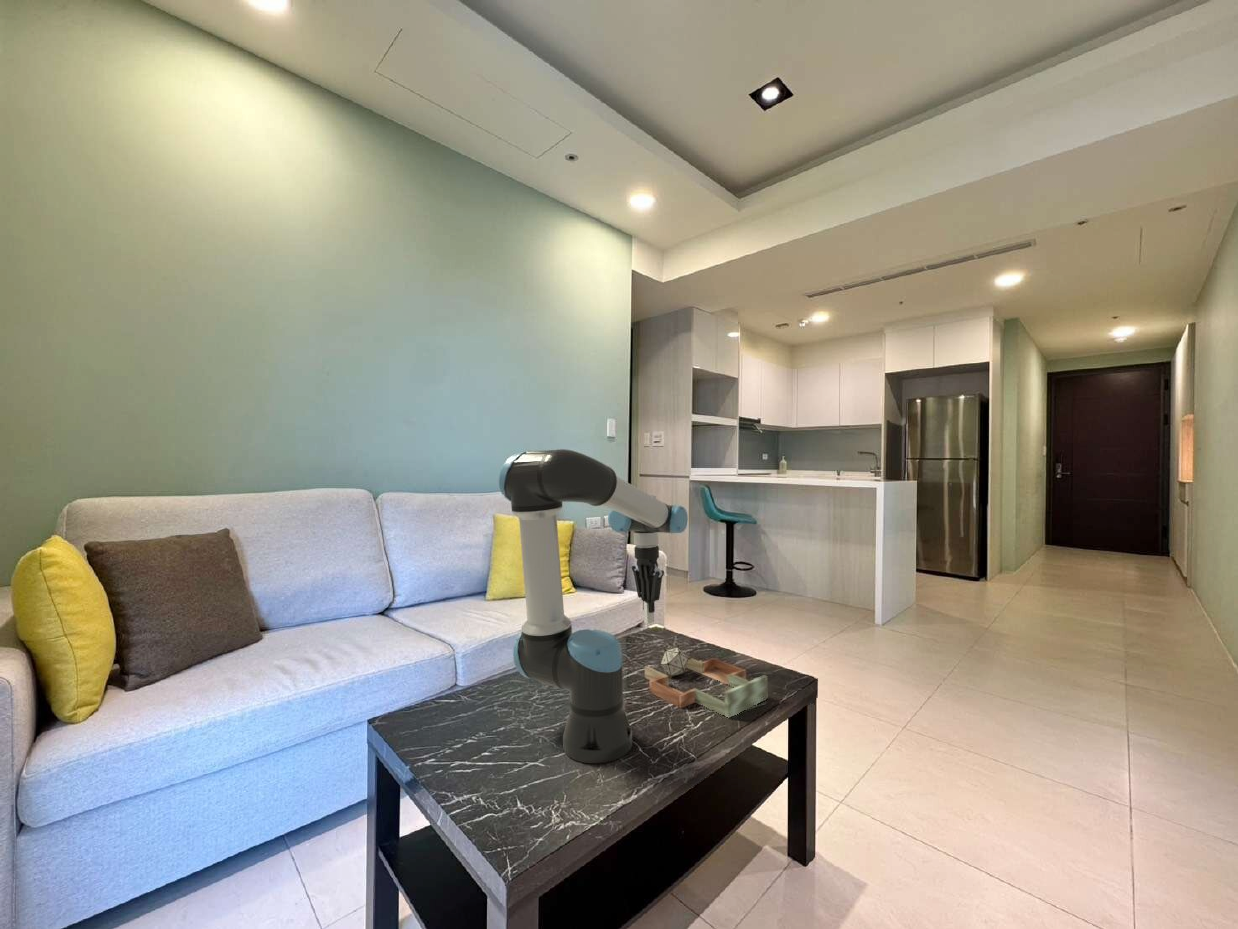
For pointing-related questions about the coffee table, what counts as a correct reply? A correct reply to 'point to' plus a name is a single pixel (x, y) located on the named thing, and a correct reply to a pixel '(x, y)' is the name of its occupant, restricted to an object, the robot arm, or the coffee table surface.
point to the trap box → (735, 698)
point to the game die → (674, 661)
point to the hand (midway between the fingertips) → (649, 622)
